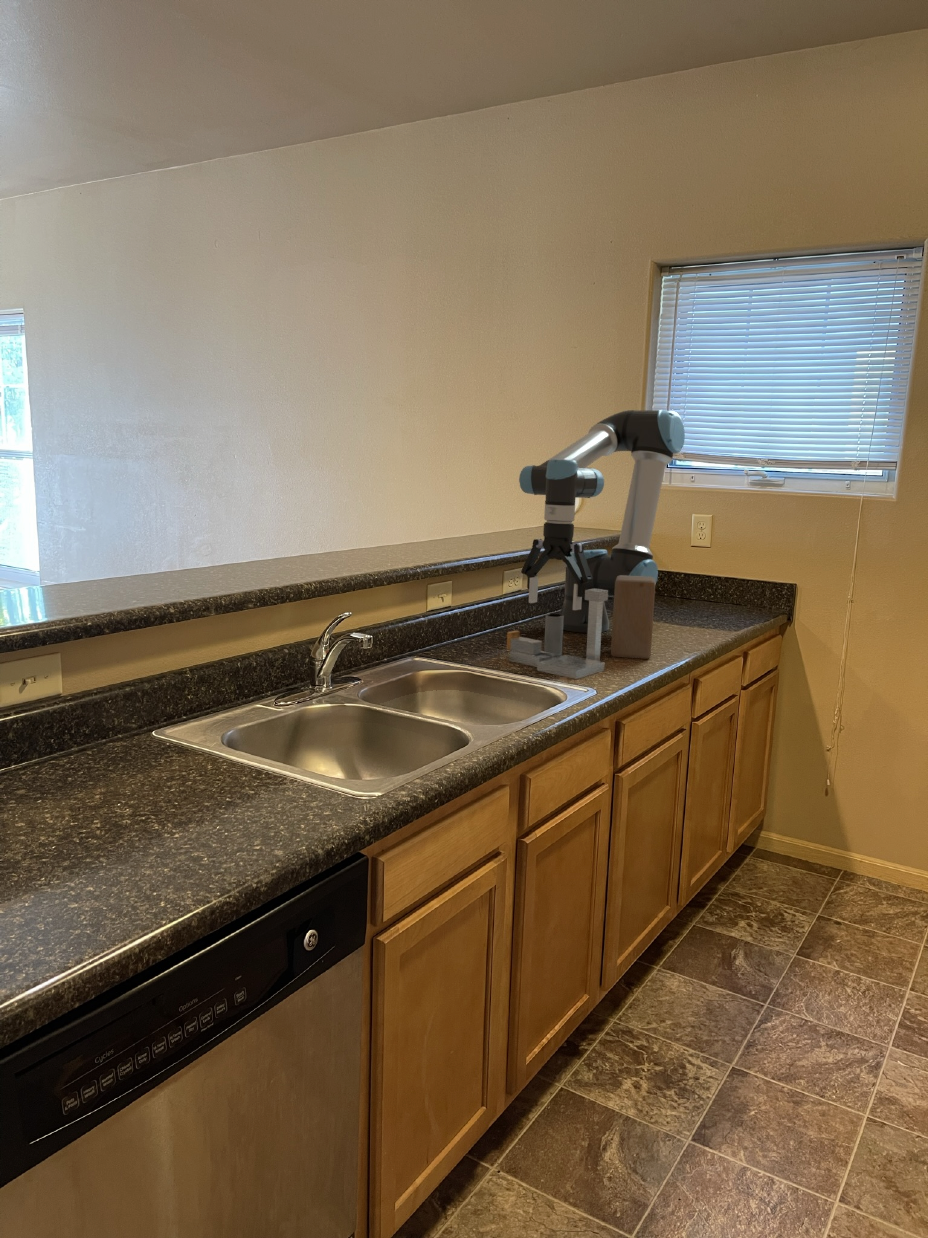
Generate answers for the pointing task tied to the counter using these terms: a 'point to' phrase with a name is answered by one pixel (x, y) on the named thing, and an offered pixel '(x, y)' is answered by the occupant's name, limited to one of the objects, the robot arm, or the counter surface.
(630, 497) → the robot arm
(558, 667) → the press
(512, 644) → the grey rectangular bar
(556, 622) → the grey hollow tube
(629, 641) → the wooden block
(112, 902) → the counter surface
